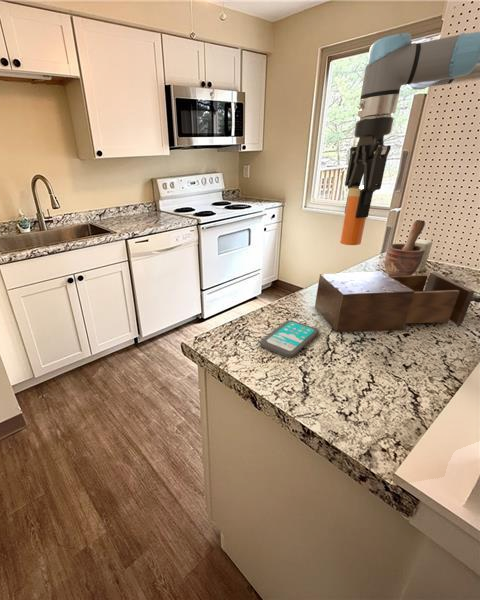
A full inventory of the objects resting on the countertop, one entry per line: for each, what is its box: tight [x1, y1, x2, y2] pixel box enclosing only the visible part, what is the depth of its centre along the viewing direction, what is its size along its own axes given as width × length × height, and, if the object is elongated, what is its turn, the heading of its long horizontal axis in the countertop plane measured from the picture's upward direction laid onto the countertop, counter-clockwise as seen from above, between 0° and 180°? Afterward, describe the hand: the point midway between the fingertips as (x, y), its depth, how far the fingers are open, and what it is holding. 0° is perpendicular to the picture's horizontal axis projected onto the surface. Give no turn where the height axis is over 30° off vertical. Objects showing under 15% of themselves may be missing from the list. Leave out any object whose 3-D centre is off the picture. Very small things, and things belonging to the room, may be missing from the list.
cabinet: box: [314, 270, 415, 333], centre depth 81 cm, size 16×14×11 cm
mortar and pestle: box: [384, 219, 426, 276], centre depth 94 cm, size 12×9×20 cm
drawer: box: [388, 271, 480, 325], centre depth 79 cm, size 19×12×9 cm, turn 84°
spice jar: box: [339, 185, 367, 246], centre depth 85 cm, size 5×5×15 cm
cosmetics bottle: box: [415, 238, 434, 273], centre depth 107 cm, size 5×4×10 cm
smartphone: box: [260, 319, 319, 358], centre depth 77 cm, size 9×1×15 cm
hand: (355, 215), depth 85 cm, fingers closed on spice jar, 5 cm apart
